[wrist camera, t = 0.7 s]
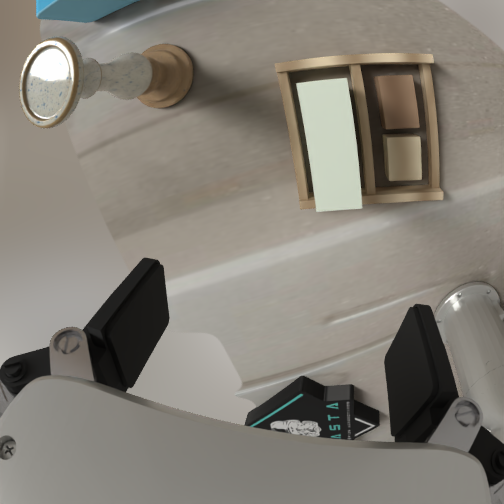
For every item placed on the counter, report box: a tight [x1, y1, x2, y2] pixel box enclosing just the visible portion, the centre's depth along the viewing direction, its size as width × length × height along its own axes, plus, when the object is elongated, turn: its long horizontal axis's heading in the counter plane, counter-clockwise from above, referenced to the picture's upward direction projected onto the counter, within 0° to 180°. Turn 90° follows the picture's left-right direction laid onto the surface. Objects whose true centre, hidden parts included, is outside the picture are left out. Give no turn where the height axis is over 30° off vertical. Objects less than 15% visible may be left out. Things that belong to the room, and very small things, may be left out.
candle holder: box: [19, 37, 193, 128], centre depth 25 cm, size 9×9×20 cm
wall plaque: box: [244, 376, 379, 440], centre depth 59 cm, size 30×4×30 cm
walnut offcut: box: [374, 75, 420, 129], centre depth 29 cm, size 4×6×3 cm, turn 12°
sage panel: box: [296, 78, 362, 212], centre depth 28 cm, size 4×11×12 cm, turn 11°
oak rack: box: [275, 53, 443, 209], centre depth 31 cm, size 18×17×3 cm
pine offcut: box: [382, 134, 422, 181], centre depth 32 cm, size 4×5×3 cm
